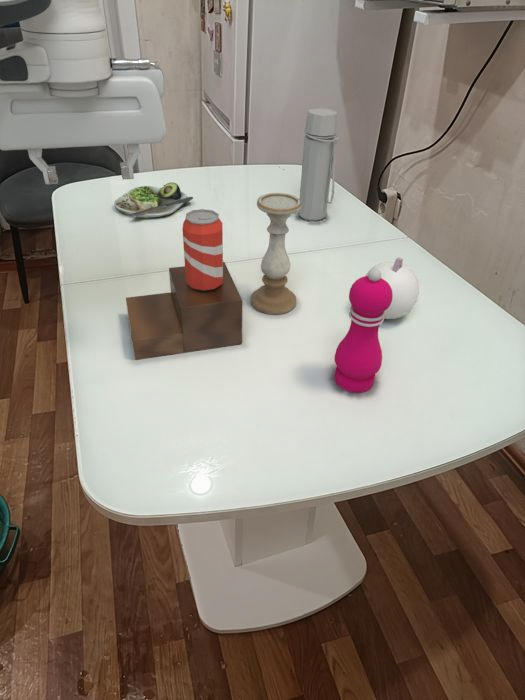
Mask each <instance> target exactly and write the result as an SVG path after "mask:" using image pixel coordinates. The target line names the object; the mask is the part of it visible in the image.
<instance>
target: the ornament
mask: <svg viewBox="0 0 525 700" xmlns="http://www.w3.org/2000/svg"><path fill="white" fill-rule="evenodd" d="M372 269H378V270H379V271H380V272H381V278H382V279H384V280H385V281H386V282H388V283H389V285H390V287H391V289H392V294H393V297H392V302H391V305H390V306H389V308H388V309H387V310H385V316H384V320H395V319H399V318H403V317H404V316H406V315H407V314H409V313H410V312H411V311H412V309H413V308H414V307H415V305H416V303H417V302H418V298H419V294H420V292H419V291H420V283H419V279H418V277H417V275H416V273H415V272H414V271H413V269H412V268H410V267H409V266H408V265H406V264H404V263H403V258H401V257H396V258H395V261H384V262H380V263H378V264H375V265H373V266H372V267H371V268H369V270H368V271H367V273H366V274H365V276H368V273H369V271H370V270H372Z"/></svg>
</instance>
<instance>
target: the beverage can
mask: <svg viewBox="0 0 525 700" xmlns="http://www.w3.org/2000/svg"><path fill="white" fill-rule="evenodd" d="M181 229H182V230H181V231H182V243H183V259H184V260H183V261H184V266H185V276H186V283H187V284H188V285H189V286H190V287H192V288H194V289H196V290H201V291H208V290H213V289H215V288H217V287H218V286H220V285H221V284H223V262H224V250H223V249H224V246H223V245H224V243H223V242H224V241H223V239H224V238H223V235H224V234H223V232H224V231H223V222H222V220H221V219H220V214H219V213H218V212H216V211H215V210H213V209H205V208H201V209H200V208H199V209H192V210H190V211H189V212H187V213H185V219H184V221H183V223H182V228H181Z"/></svg>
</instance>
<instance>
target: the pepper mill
mask: <svg viewBox="0 0 525 700" xmlns="http://www.w3.org/2000/svg"><path fill="white" fill-rule="evenodd" d="M369 270H370V269H369ZM369 270H368V271H369ZM367 273H368V272H367ZM392 297H393V294H392V289H391V287H390V285H389V283H388V282H386V281H385V280H384V279H382V278H381V272H380V271H379V270H378V269H372V270H370V271H369V273H368V276H366V275H364V276H361V277H359V278H357V279H356V280H355V281H354V282H353V283H352V284H351V287H350V288H349V293H348V299H349V300H348V301H349V303H350V307H349V313H348V316H349V318H350V325H349V329H348V331H347V333H346V334H345V336H344V337H343V338H342V340H341V341H340V342H339V344H338V345H337V347H336V349H335V352H334V364H335V371H334V381H335V383H336V385H337V386H338V387H340V388H341V389H342V390H344V391H345V392H349V393H355V394H361V393H365V392H367V391H370V390H371V389H372V388H373V386H374V384H375V380H376V374H377V373H379V371H380V369H381V367H382V363H383V351H382V348H381V343H380V340H379V330H380V329H379V328H380V325H381V324H383V323H384V321H385V319H384V316H385V310H387V309H388V308H389V306H390V305H391V302H392Z"/></svg>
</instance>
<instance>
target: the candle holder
mask: <svg viewBox="0 0 525 700" xmlns="http://www.w3.org/2000/svg"><path fill="white" fill-rule="evenodd" d="M299 198H300V197H297V196H295V195H293V194H290V193H285V192H269V193H266V194H263V195H260V196H259V197H258V199H257V200H256V207H257V208H258V209H259V210H260V211H261V212H263V213H265V214H266V216H267V217H268V218H269V220H270V223H269V224H268V226H267V227H266V231H267V232H268V233H269V240H268V247H267V250H266V251H265V253H264V255H263V257H262V259H261V262H260V269H261V272H262V273H263V276H262V277H261V280H262V283H263V285H262V286H260V287H259V288H257V289H256V290H254V291H253V292H252V293H251V295H250V303H251V305H252V307H253V308H254V309H256V311H258V312H261V313H263V314H267V315H282V314H287V313H289V312H291V311H292V310H294V309H295V307H296V305H297V300H298V299H297V296H296V295H295V293H294V292H293V291H291V290H290V289H289V288H288V287H287V286H286V284H287V283H288V281H289V280H288V277H287V275H288V274H289V272H290V271H291V261H290V257H289V255H288V253H287V250H286V234H288V233H289V231H290V230H289V227H288V225H287V220H288V219H289V218H290V217H291V216H292V215H294V214H296V213H298V211H300V209H301V207H302V203H301V201H300V199H299Z"/></svg>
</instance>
